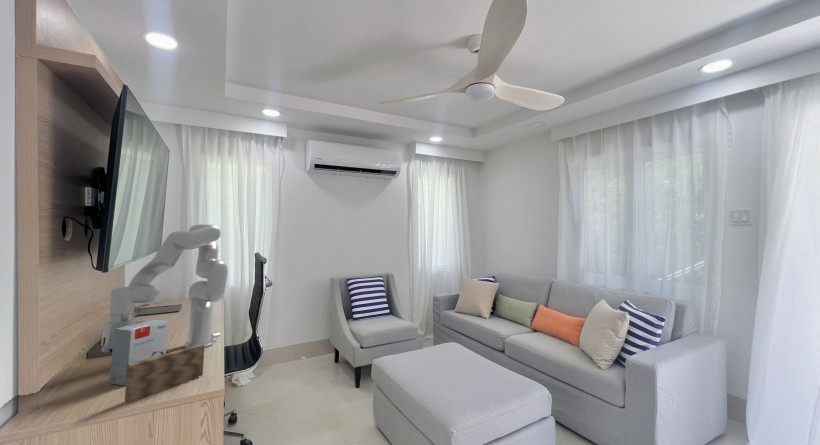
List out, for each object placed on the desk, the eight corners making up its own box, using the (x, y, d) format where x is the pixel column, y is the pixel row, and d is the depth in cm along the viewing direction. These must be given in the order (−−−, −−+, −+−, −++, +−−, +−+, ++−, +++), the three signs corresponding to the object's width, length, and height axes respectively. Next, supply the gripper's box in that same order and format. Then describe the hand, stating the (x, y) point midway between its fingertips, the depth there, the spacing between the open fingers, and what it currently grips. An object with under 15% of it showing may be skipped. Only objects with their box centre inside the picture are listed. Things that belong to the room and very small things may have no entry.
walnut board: (198, 374, 129) (200, 343, 129) (202, 376, 128) (204, 344, 128) (124, 401, 107) (127, 364, 108) (128, 403, 106) (131, 365, 106)
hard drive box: (125, 386, 117) (129, 330, 118) (108, 384, 119) (112, 328, 120) (165, 369, 132) (168, 320, 133) (150, 367, 134) (153, 318, 135)
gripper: (138, 312, 141) (135, 355, 141) (93, 320, 128) (89, 367, 127) (147, 315, 138) (144, 359, 137) (102, 323, 125) (99, 371, 124)
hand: (118, 363), depth 132 cm, fingers closed
